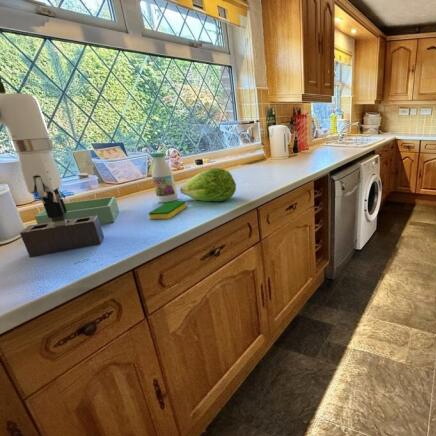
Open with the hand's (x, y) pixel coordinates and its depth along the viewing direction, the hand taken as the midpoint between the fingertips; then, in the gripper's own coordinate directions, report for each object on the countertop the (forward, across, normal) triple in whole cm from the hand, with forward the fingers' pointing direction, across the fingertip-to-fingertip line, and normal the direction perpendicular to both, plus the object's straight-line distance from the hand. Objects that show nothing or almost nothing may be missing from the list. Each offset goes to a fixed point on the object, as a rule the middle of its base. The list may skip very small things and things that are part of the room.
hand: (57, 214), depth 82 cm
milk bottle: (+10, -38, +26) cm, 47 cm away
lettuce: (+10, -28, +41) cm, 51 cm away
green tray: (+10, -25, -1) cm, 27 cm away
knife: (+10, 0, 0) cm, 10 cm away
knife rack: (+10, 0, 0) cm, 10 cm away
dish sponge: (+10, -18, +26) cm, 33 cm away
